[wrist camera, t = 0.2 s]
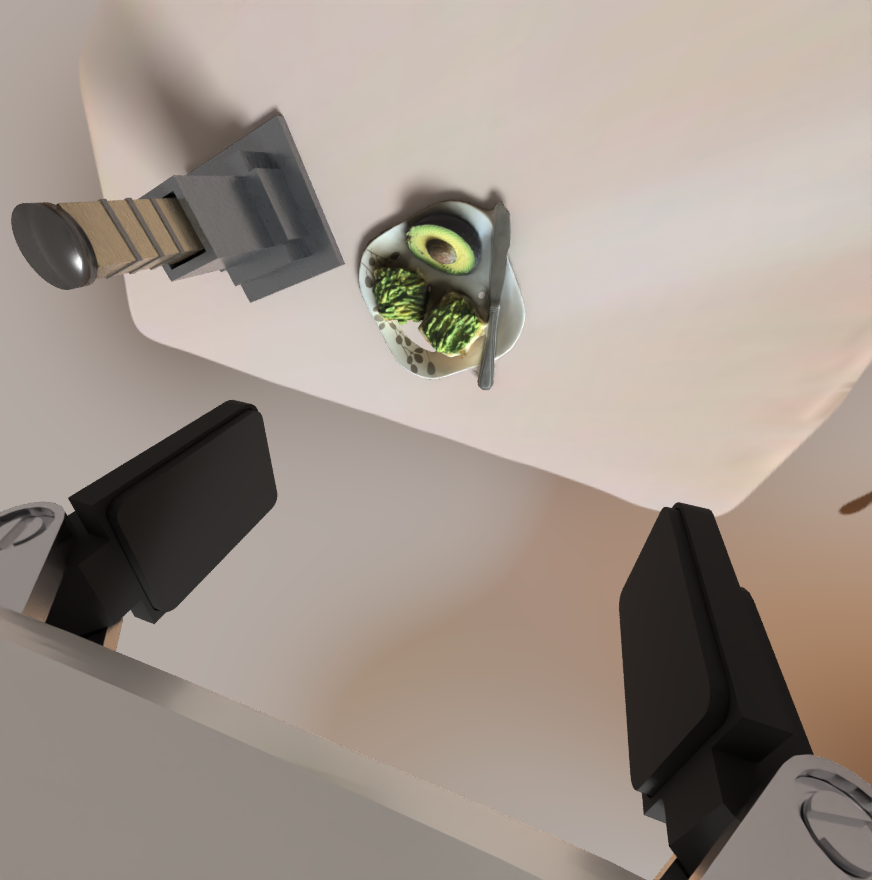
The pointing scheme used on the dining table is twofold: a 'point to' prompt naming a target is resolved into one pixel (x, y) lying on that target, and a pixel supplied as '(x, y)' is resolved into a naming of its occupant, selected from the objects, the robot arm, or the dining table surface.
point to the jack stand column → (103, 238)
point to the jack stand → (254, 215)
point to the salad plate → (445, 289)
